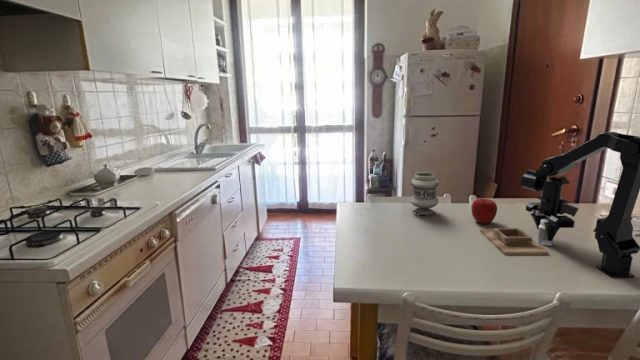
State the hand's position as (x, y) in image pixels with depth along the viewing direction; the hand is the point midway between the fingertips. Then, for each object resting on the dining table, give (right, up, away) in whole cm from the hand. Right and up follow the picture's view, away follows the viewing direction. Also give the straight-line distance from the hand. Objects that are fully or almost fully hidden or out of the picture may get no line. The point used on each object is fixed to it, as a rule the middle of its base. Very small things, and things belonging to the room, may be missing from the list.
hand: (545, 237), depth 122 cm
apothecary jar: (-32, +5, +35) cm, 48 cm away
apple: (-12, +3, +22) cm, 25 cm away
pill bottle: (0, -2, +1) cm, 2 cm away
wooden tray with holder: (-11, -2, +2) cm, 11 cm away
